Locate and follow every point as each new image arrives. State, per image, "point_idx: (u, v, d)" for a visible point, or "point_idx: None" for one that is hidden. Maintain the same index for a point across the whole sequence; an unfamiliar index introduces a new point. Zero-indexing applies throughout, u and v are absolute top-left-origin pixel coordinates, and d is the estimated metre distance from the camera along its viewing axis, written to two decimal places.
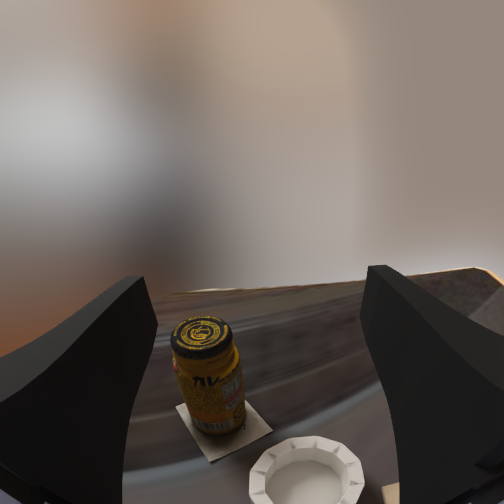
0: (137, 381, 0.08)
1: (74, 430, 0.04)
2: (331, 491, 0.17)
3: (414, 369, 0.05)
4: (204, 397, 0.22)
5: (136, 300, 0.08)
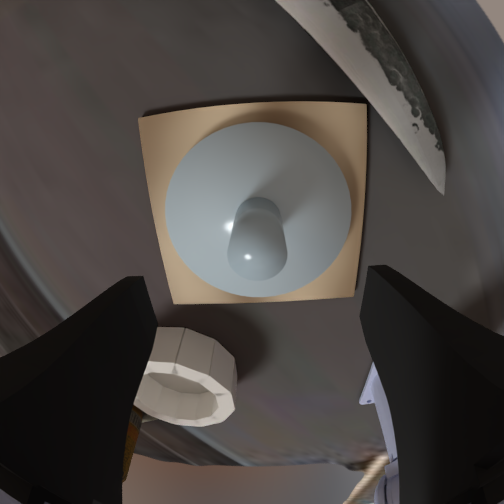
0: (137, 381, 0.08)
1: (74, 430, 0.04)
2: None
3: (414, 369, 0.05)
4: (127, 460, 0.21)
5: (136, 300, 0.08)
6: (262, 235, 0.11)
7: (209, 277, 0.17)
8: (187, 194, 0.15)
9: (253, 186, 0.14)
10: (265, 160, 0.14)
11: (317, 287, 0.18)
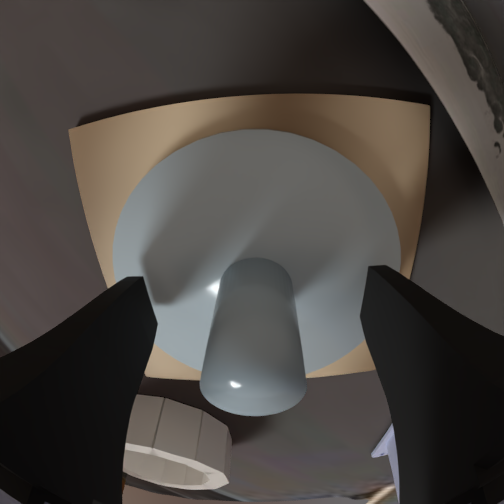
0: (137, 381, 0.08)
1: (74, 430, 0.04)
2: None
3: (414, 369, 0.05)
4: None
5: (136, 300, 0.08)
6: (263, 367, 0.06)
7: (187, 359, 0.11)
8: (142, 251, 0.09)
9: (247, 241, 0.09)
10: (268, 197, 0.08)
11: (337, 363, 0.12)
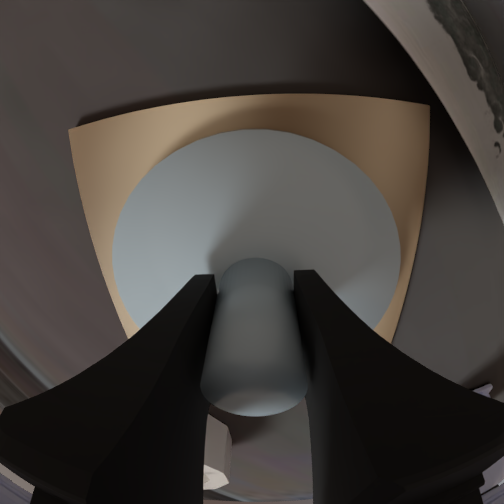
0: None
1: (175, 452, 0.04)
2: None
3: (317, 384, 0.06)
4: None
5: (211, 299, 0.08)
6: (264, 368, 0.06)
7: None
8: (142, 252, 0.09)
9: (247, 241, 0.09)
10: (268, 198, 0.08)
11: None
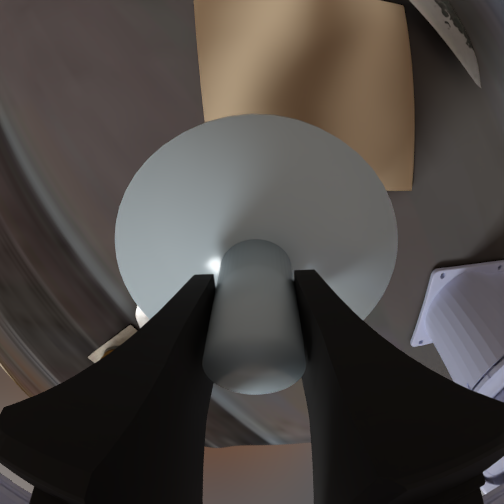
0: (210, 386, 0.08)
1: (174, 452, 0.04)
2: None
3: (318, 384, 0.06)
4: None
5: (210, 299, 0.08)
6: (265, 345, 0.06)
7: None
8: (145, 230, 0.09)
9: (250, 222, 0.09)
10: (273, 181, 0.08)
11: None
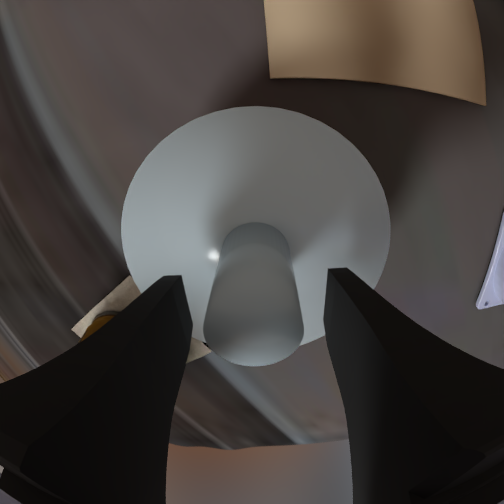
0: (177, 385, 0.08)
1: (126, 443, 0.04)
2: None
3: (363, 378, 0.06)
4: None
5: (176, 300, 0.08)
6: (266, 307, 0.06)
7: None
8: (152, 210, 0.10)
9: (252, 205, 0.09)
10: (274, 167, 0.09)
11: (453, 79, 0.10)
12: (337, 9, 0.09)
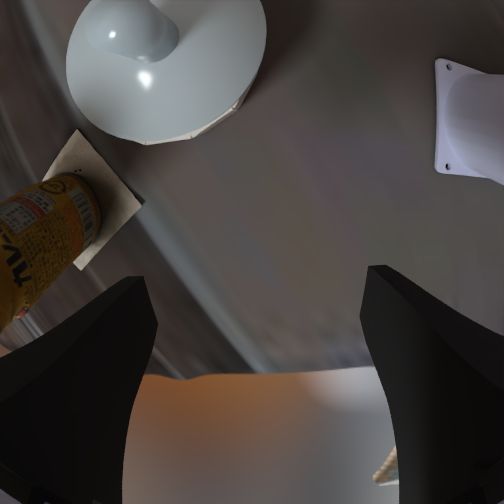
0: (137, 381, 0.08)
1: (74, 430, 0.04)
2: None
3: (414, 369, 0.05)
4: (43, 252, 0.12)
5: (136, 300, 0.08)
6: None
7: (97, 117, 0.11)
8: None
9: None
10: None
11: None
12: None
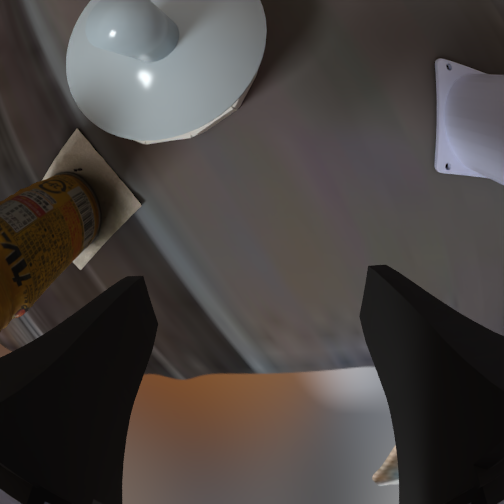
0: (137, 381, 0.08)
1: (74, 430, 0.04)
2: None
3: (414, 369, 0.05)
4: (43, 251, 0.12)
5: (136, 300, 0.08)
6: None
7: (97, 116, 0.11)
8: None
9: None
10: None
11: None
12: None
